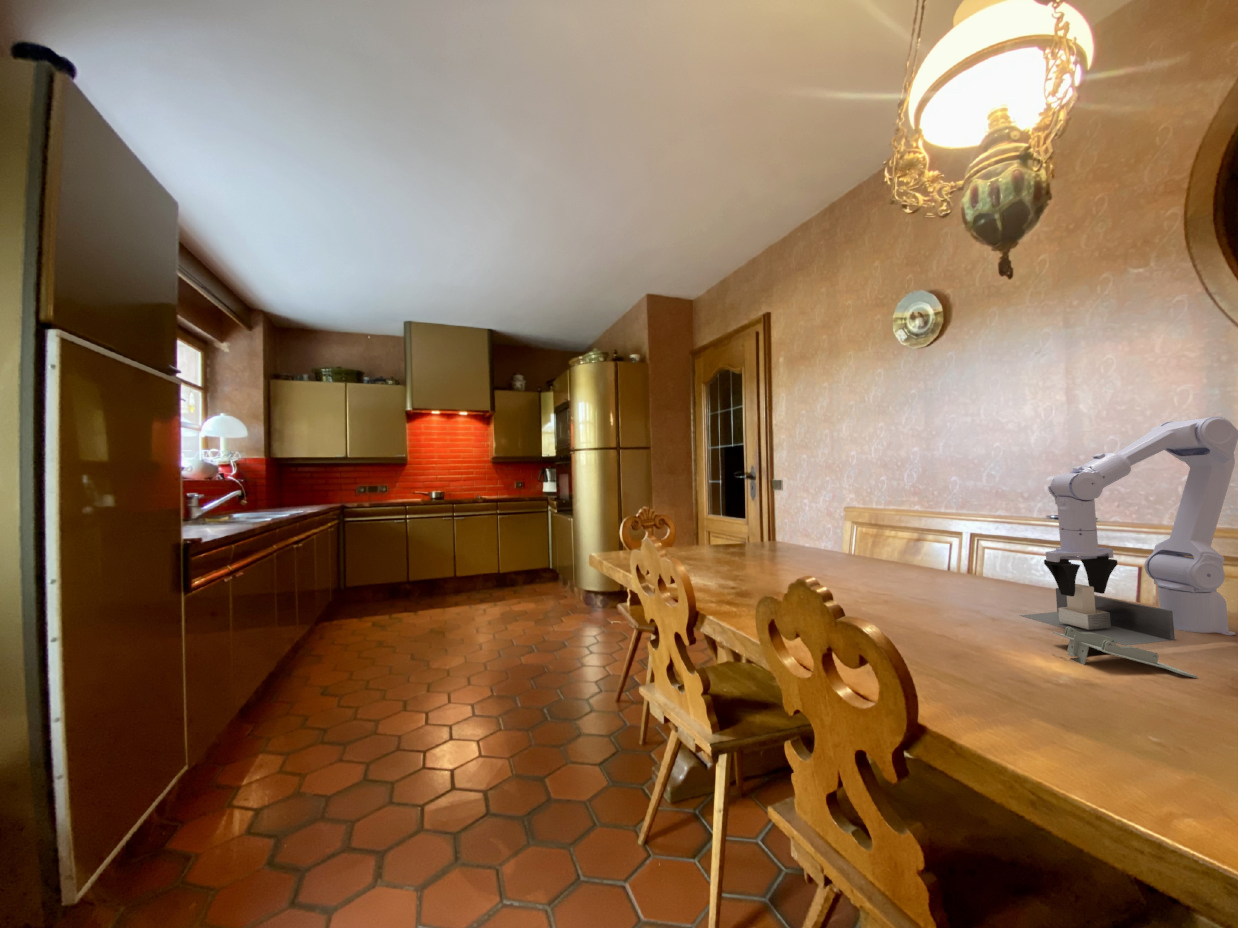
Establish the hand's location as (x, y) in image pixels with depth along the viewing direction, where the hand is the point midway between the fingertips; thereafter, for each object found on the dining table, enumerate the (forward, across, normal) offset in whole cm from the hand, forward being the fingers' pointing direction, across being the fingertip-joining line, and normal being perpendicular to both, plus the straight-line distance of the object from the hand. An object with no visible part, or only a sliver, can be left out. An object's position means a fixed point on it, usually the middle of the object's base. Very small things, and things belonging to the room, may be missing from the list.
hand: (1082, 593), depth 98 cm
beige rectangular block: (+6, 0, 0) cm, 6 cm away
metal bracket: (+9, +12, +13) cm, 20 cm away
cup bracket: (+7, -2, 0) cm, 7 cm away
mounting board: (+8, -1, 0) cm, 8 cm away
